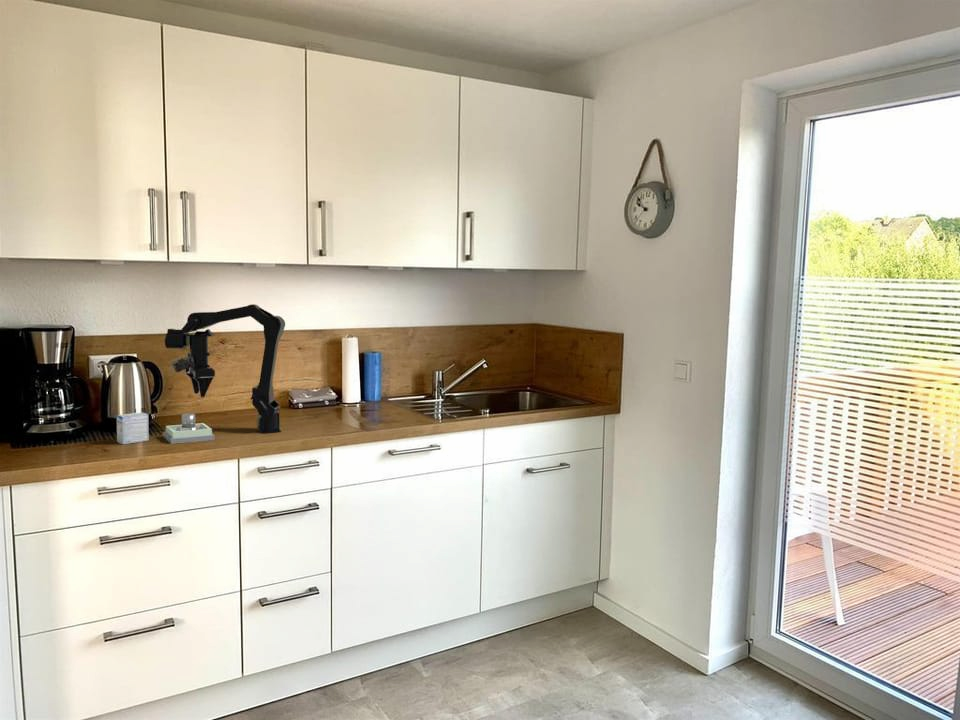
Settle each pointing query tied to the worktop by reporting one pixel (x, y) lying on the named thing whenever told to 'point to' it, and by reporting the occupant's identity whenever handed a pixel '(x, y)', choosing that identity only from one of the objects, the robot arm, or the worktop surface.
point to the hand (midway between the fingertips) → (199, 395)
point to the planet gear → (188, 423)
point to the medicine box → (132, 428)
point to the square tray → (188, 434)
